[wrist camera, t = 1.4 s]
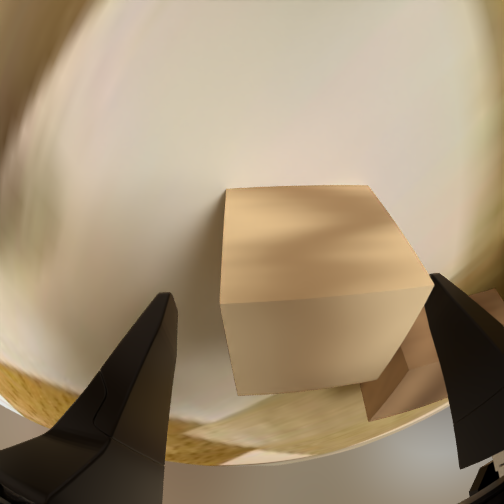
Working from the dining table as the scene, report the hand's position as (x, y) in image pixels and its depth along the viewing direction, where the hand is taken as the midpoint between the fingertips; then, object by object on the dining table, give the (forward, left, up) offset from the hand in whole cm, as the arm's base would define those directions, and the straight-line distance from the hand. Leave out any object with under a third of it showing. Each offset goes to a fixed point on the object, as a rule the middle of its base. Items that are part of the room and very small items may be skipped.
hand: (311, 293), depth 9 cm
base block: (-10, +10, -3) cm, 14 cm away
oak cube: (0, 0, -3) cm, 3 cm away
